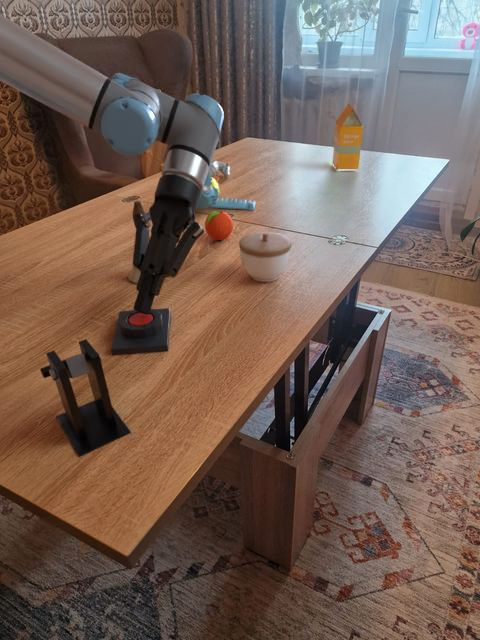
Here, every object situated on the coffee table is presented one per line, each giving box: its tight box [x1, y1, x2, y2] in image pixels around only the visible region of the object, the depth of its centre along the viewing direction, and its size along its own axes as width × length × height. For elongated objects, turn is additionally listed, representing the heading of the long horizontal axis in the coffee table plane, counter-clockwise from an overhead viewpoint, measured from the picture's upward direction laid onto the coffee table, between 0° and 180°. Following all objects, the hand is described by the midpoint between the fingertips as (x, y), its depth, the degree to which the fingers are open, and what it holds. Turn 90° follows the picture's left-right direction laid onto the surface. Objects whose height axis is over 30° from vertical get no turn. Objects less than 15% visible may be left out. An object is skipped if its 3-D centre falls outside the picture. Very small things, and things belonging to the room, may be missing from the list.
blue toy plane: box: [197, 174, 256, 212], centre depth 136 cm, size 28×9×15 cm
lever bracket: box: [45, 339, 132, 458], centre depth 62 cm, size 9×7×13 cm
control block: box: [110, 307, 172, 356], centre depth 82 cm, size 9×12×4 cm
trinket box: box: [238, 231, 292, 283], centre depth 100 cm, size 11×11×9 cm
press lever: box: [39, 353, 90, 379], centre depth 63 cm, size 11×6×2 cm
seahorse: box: [208, 160, 231, 180], centre depth 158 cm, size 5×12×20 cm
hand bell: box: [127, 200, 146, 285], centre depth 98 cm, size 8×8×16 cm
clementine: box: [204, 210, 234, 241], centre depth 117 cm, size 8×7×7 cm
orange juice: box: [332, 104, 364, 170], centre depth 166 cm, size 8×9×20 cm
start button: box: [129, 313, 153, 326], centre depth 82 cm, size 4×4×2 cm
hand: (141, 311), depth 81 cm, fingers closed
